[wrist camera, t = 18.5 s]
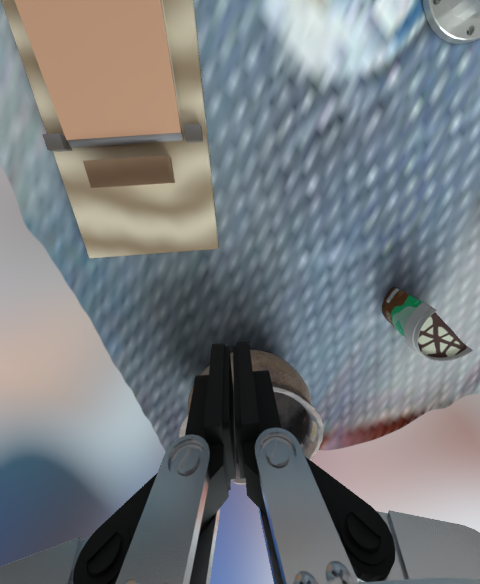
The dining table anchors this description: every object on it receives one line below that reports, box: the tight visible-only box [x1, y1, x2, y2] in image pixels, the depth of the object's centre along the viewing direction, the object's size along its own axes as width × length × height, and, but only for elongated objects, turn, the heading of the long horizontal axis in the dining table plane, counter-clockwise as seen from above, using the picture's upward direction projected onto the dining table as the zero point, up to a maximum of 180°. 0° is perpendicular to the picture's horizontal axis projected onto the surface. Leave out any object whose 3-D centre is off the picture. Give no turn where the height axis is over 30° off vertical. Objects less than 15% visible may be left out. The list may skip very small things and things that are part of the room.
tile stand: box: [2, 0, 219, 258], centre depth 29 cm, size 30×20×4 cm, turn 4°
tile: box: [15, 0, 183, 148], centre depth 26 cm, size 13×14×2 cm
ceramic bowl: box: [179, 350, 323, 484], centre depth 42 cm, size 22×22×15 cm
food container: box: [382, 287, 473, 361], centre depth 40 cm, size 12×6×10 cm, turn 49°
